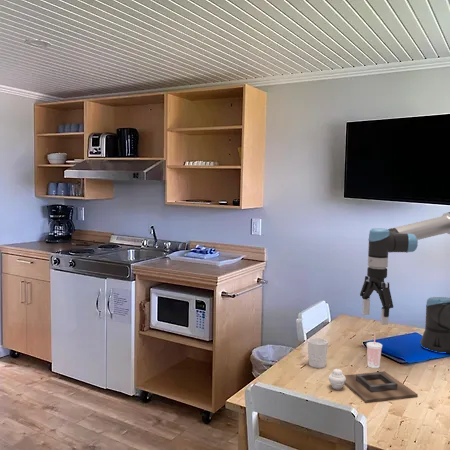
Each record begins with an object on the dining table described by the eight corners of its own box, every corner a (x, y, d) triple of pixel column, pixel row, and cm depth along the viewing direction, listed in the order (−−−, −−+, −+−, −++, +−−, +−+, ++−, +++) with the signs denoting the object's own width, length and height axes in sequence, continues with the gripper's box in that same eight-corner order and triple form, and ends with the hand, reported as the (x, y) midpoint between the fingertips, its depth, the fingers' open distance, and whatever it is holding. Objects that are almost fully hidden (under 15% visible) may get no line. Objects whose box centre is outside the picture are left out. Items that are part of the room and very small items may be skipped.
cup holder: (384, 373, 181) (385, 366, 181) (417, 396, 161) (417, 388, 161) (337, 378, 176) (338, 370, 176) (365, 402, 157) (366, 394, 156)
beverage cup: (373, 369, 184) (374, 335, 183) (362, 364, 190) (363, 331, 189) (384, 367, 187) (386, 333, 186) (373, 361, 193) (374, 329, 191)
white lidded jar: (342, 392, 164) (343, 373, 164) (325, 388, 167) (326, 369, 167) (347, 386, 169) (348, 367, 169) (331, 382, 173) (332, 364, 172)
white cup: (328, 362, 192) (328, 339, 191) (325, 369, 184) (326, 345, 183) (308, 360, 194) (309, 336, 193) (305, 367, 187) (306, 342, 186)
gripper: (353, 262, 196) (350, 311, 198) (387, 273, 172) (384, 329, 174) (369, 261, 198) (366, 310, 200) (404, 273, 174) (401, 328, 176)
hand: (374, 319), depth 187 cm, fingers open, 13 cm apart
